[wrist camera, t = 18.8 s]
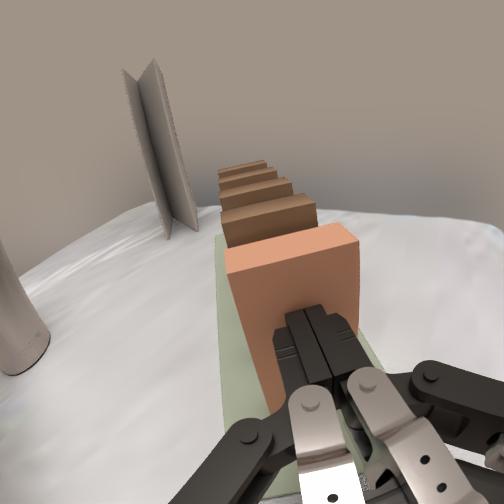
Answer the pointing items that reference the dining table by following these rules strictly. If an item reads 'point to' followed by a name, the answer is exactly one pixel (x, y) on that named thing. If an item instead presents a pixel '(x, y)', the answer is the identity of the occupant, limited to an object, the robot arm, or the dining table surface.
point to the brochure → (160, 147)
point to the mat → (255, 376)
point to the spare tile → (291, 289)
